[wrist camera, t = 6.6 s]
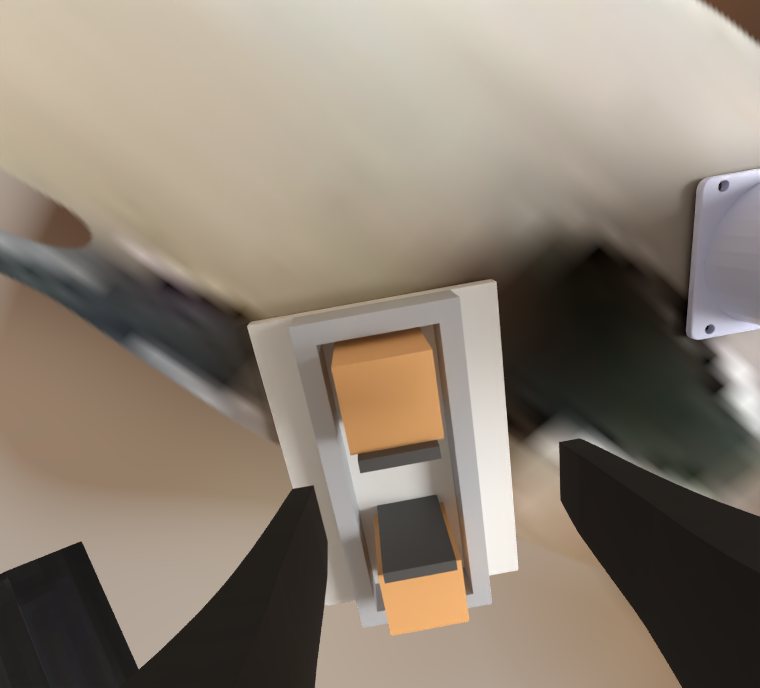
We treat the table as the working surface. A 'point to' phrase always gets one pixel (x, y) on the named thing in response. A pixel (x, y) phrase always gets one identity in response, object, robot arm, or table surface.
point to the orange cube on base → (388, 398)
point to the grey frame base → (409, 482)
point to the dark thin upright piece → (60, 626)
